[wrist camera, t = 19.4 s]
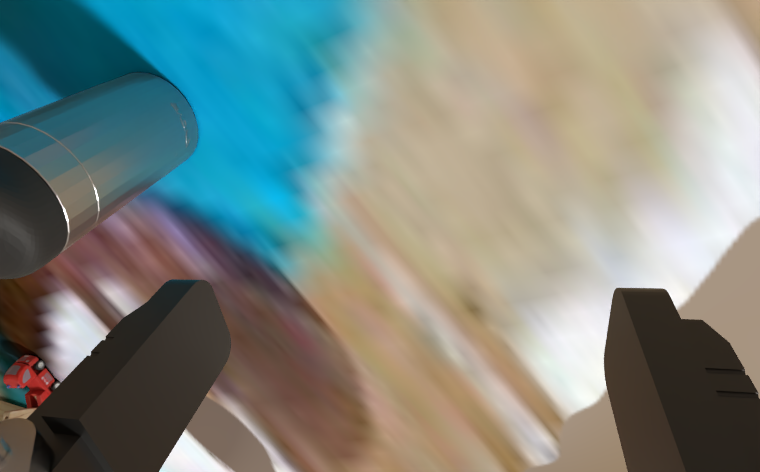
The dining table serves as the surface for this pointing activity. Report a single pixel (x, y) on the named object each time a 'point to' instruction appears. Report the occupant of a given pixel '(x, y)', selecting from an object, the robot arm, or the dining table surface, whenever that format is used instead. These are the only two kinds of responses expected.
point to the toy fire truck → (29, 384)
